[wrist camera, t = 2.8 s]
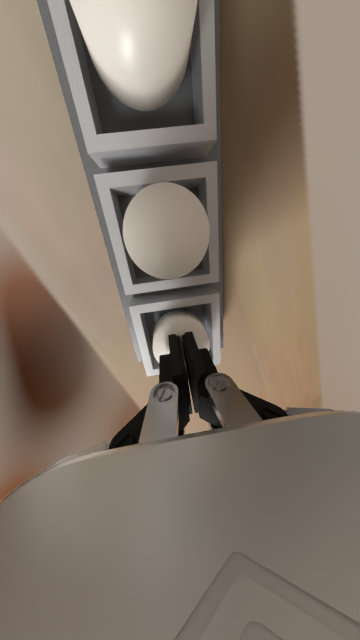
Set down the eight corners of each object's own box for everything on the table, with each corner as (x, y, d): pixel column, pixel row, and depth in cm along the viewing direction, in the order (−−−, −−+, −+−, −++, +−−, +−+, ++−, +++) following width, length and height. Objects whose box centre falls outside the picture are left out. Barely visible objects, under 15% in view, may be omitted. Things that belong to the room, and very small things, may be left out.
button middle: (121, 198, 9) (111, 188, 7) (198, 188, 9) (207, 176, 7) (138, 276, 11) (134, 284, 9) (202, 267, 11) (211, 273, 9)
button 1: (148, 314, 13) (147, 327, 11) (202, 306, 13) (208, 317, 11) (158, 357, 15) (157, 374, 13) (204, 350, 15) (211, 365, 13)
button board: (32, -81, 8) (-121, -465, 4) (199, -87, 9) (243, -444, 4) (141, 344, 19) (136, 378, 14) (214, 333, 19) (231, 362, 15)
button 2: (65, -54, 6) (23, -185, 4) (183, -60, 6) (194, -187, 4) (102, 115, 8) (85, 77, 6) (193, 106, 8) (203, 67, 6)
